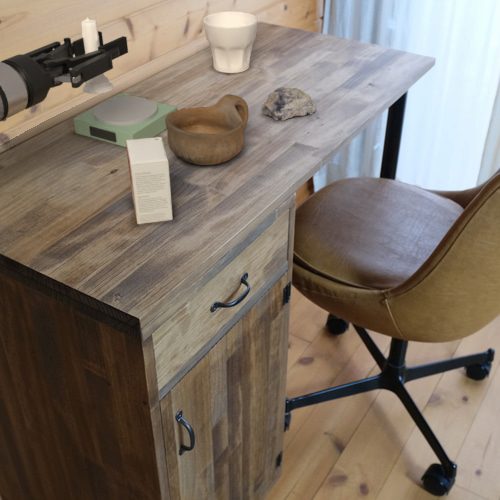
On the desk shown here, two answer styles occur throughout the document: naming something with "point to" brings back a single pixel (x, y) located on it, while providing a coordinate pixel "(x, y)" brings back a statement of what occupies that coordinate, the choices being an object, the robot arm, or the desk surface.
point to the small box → (149, 180)
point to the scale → (123, 119)
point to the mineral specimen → (288, 104)
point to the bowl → (208, 131)
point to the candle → (91, 44)
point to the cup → (231, 39)
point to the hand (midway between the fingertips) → (113, 41)
